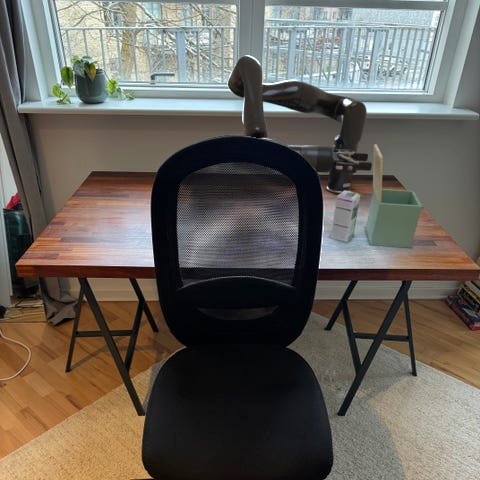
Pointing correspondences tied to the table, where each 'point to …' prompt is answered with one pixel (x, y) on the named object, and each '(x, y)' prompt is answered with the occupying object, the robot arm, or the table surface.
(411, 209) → the box
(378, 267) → the table surface
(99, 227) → the table surface
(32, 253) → the table surface
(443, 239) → the table surface
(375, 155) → the lid
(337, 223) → the syrup box
